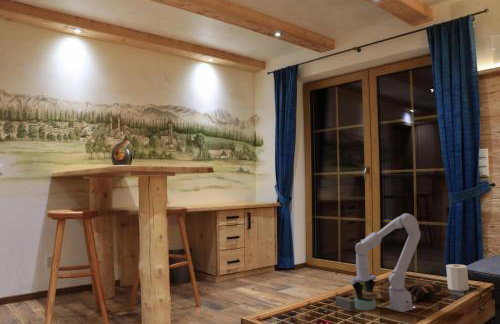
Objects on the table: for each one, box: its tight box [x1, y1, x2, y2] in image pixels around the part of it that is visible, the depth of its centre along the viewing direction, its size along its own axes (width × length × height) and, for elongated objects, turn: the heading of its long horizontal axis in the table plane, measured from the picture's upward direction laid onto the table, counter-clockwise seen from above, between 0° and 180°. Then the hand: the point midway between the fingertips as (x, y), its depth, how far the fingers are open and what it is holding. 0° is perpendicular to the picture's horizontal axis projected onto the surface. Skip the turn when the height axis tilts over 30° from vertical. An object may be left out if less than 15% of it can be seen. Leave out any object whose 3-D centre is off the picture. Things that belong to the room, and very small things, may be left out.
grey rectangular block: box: [335, 296, 356, 312], centre depth 193 cm, size 10×3×4 cm, turn 28°
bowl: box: [354, 296, 376, 311], centre depth 194 cm, size 9×9×4 cm
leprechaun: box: [407, 282, 442, 303], centre depth 205 cm, size 11×10×25 cm
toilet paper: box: [445, 263, 470, 292], centre depth 220 cm, size 10×10×12 cm
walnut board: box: [351, 290, 378, 299], centre depth 194 cm, size 11×6×2 cm, turn 28°
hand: (364, 297), depth 194 cm, fingers closed on walnut board, 5 cm apart
